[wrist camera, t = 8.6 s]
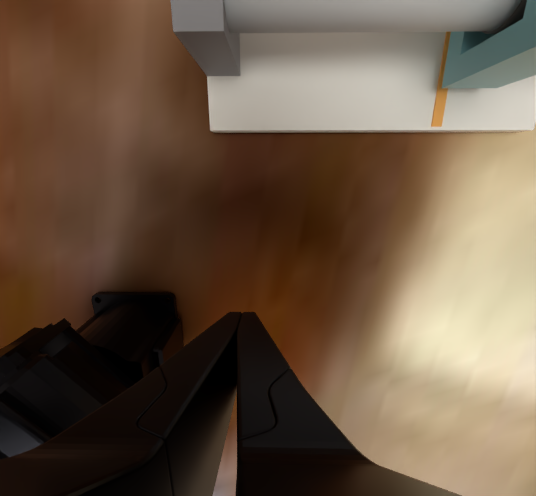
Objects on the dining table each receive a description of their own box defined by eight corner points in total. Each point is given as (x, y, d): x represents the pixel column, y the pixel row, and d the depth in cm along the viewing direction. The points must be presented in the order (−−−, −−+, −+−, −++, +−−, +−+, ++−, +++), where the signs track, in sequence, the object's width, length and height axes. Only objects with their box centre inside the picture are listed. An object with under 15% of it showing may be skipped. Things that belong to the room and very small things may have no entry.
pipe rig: (214, 132, 18) (180, 115, 12) (203, -59, 15) (151, -229, 9) (516, 132, 18) (660, 113, 11) (565, -64, 15) (798, -245, 8)
